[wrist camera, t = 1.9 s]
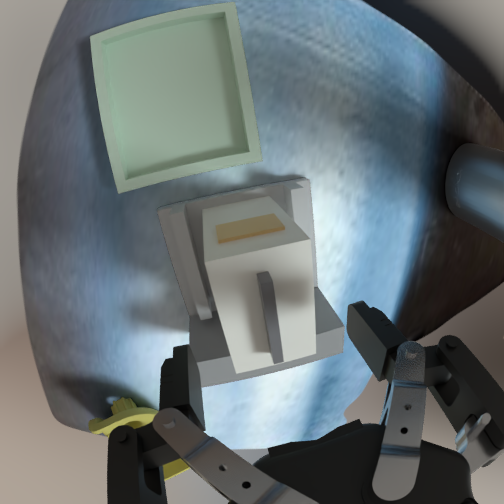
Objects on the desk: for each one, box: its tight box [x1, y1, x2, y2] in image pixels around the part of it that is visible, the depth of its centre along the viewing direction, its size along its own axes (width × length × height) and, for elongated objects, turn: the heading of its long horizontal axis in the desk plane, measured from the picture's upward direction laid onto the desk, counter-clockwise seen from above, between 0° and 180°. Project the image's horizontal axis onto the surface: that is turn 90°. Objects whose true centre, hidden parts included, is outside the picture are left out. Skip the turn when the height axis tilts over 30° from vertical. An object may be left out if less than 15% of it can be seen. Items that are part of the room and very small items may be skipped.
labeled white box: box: [202, 196, 316, 374], centre depth 19 cm, size 5×8×10 cm, turn 9°
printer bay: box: [157, 178, 345, 388], centre depth 22 cm, size 12×13×7 cm
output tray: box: [90, 2, 263, 194], centre depth 17 cm, size 11×13×2 cm
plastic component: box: [88, 397, 190, 481], centre depth 31 cm, size 20×7×10 cm
